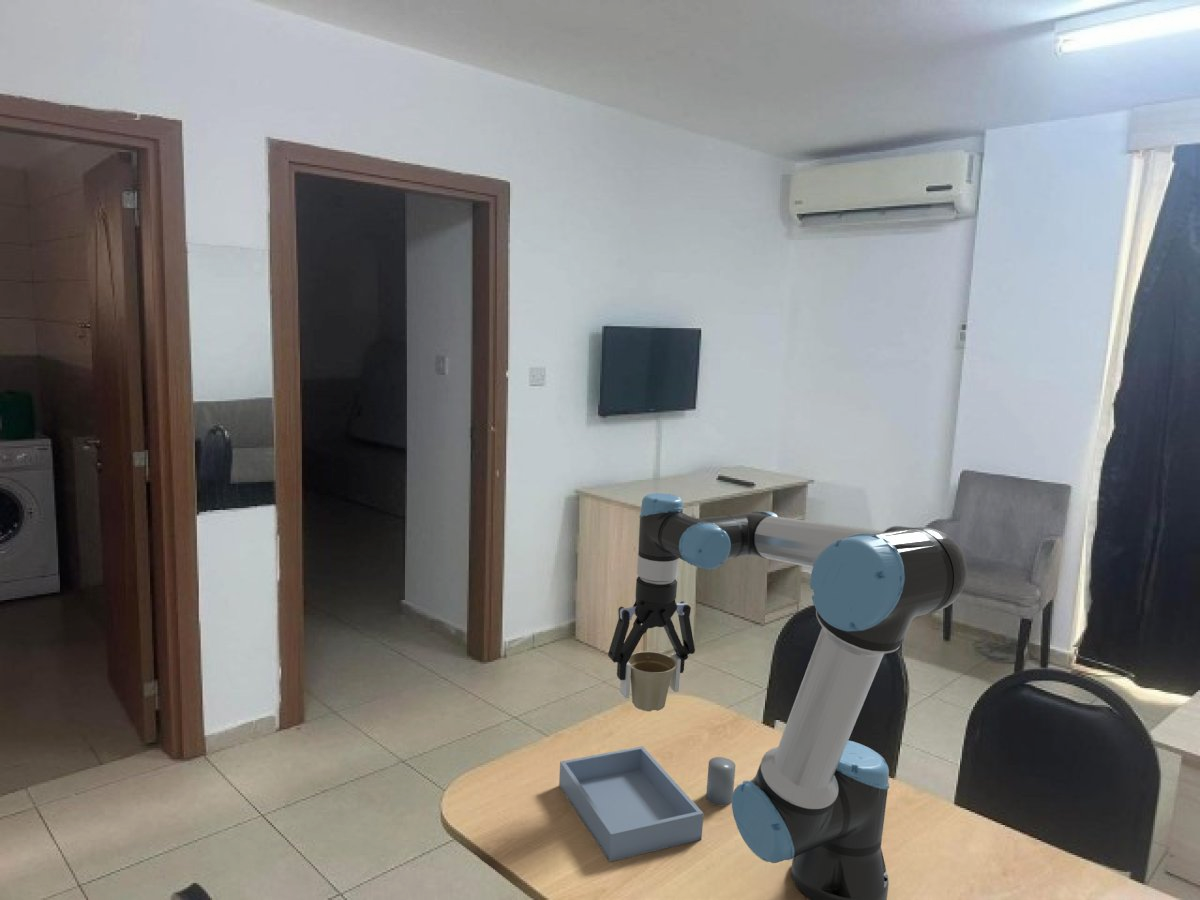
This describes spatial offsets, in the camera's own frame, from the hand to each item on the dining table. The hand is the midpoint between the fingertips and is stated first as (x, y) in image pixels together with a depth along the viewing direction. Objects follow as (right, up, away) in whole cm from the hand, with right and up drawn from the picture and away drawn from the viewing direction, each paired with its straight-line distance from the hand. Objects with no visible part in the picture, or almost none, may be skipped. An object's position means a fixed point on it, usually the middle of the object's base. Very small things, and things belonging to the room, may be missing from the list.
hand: (649, 691), depth 155 cm
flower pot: (0, -3, +1) cm, 3 cm away
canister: (+13, -21, +1) cm, 25 cm away
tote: (-4, -21, -4) cm, 22 cm away
